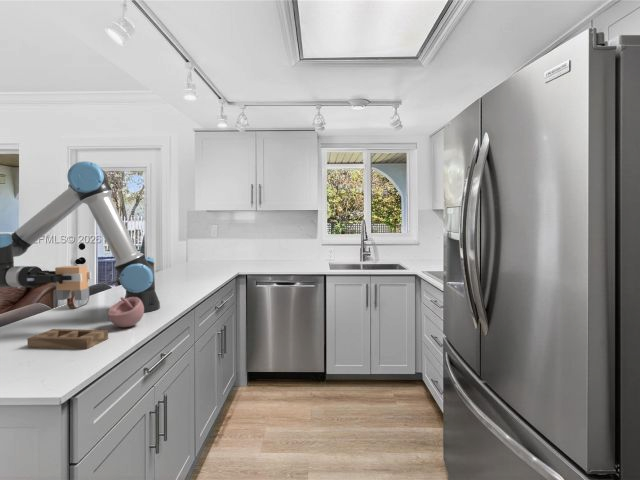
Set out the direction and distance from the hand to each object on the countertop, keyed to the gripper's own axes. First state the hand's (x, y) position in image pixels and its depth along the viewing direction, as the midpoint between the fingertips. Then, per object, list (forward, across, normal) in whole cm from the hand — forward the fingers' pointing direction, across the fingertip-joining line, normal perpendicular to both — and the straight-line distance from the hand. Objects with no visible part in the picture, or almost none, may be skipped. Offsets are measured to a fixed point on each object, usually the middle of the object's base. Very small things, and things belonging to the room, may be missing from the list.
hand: (85, 276), depth 137 cm
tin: (-33, -37, -20) cm, 53 cm away
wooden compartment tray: (+3, +13, -20) cm, 24 cm away
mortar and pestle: (+10, -6, -20) cm, 23 cm away
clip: (-5, 0, -8) cm, 10 cm away
